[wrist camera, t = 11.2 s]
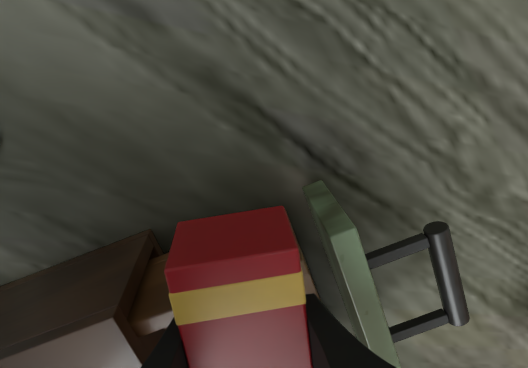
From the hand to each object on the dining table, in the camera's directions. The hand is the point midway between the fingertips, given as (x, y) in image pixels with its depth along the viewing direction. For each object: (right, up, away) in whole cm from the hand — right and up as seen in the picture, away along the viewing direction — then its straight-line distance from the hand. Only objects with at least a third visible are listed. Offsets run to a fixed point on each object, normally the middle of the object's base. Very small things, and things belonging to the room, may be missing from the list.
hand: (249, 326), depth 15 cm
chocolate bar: (0, 0, +1) cm, 2 cm away
